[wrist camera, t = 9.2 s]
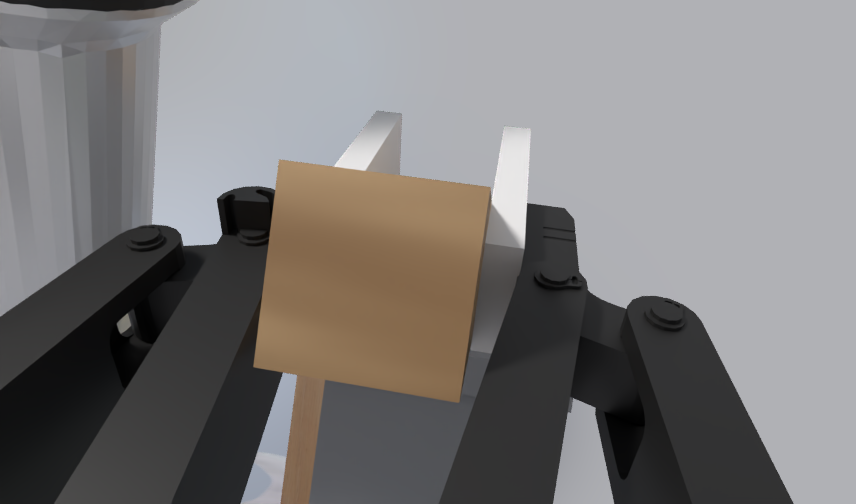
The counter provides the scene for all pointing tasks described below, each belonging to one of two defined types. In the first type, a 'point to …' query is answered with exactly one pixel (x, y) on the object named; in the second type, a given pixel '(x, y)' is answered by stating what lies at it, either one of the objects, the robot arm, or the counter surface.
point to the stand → (389, 442)
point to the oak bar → (372, 279)
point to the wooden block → (302, 440)
